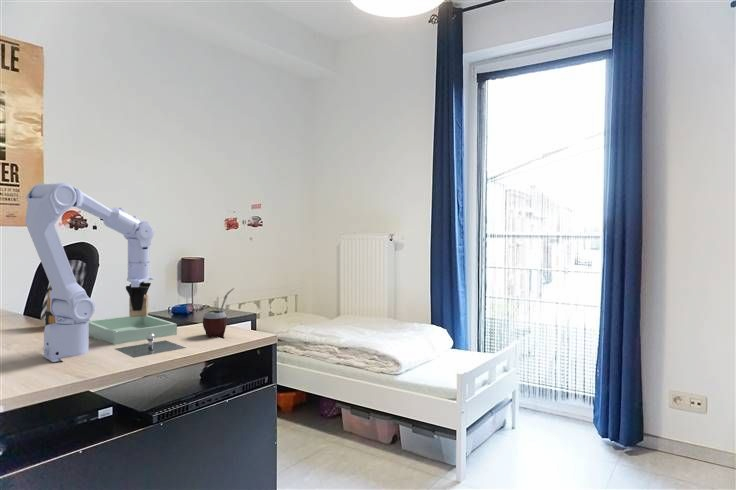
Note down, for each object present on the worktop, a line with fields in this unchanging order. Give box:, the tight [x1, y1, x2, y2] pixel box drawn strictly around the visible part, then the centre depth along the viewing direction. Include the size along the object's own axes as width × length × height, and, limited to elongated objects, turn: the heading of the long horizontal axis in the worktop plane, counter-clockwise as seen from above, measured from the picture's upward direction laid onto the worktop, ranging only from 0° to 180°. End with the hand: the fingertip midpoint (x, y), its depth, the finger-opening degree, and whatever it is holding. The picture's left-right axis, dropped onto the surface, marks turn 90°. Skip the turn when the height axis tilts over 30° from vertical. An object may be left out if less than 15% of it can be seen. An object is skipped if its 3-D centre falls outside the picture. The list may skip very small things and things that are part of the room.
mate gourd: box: [202, 287, 235, 339], centre depth 146 cm, size 8×8×15 cm
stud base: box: [114, 333, 187, 358], centre depth 129 cm, size 14×12×5 cm
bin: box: [89, 314, 178, 345], centre depth 146 cm, size 18×22×4 cm
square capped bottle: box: [128, 294, 149, 317], centre depth 139 cm, size 4×4×8 cm
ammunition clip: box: [45, 289, 56, 326], centre depth 155 cm, size 11×2×12 cm, turn 60°
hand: (138, 309), depth 139 cm, fingers closed on square capped bottle, 4 cm apart
